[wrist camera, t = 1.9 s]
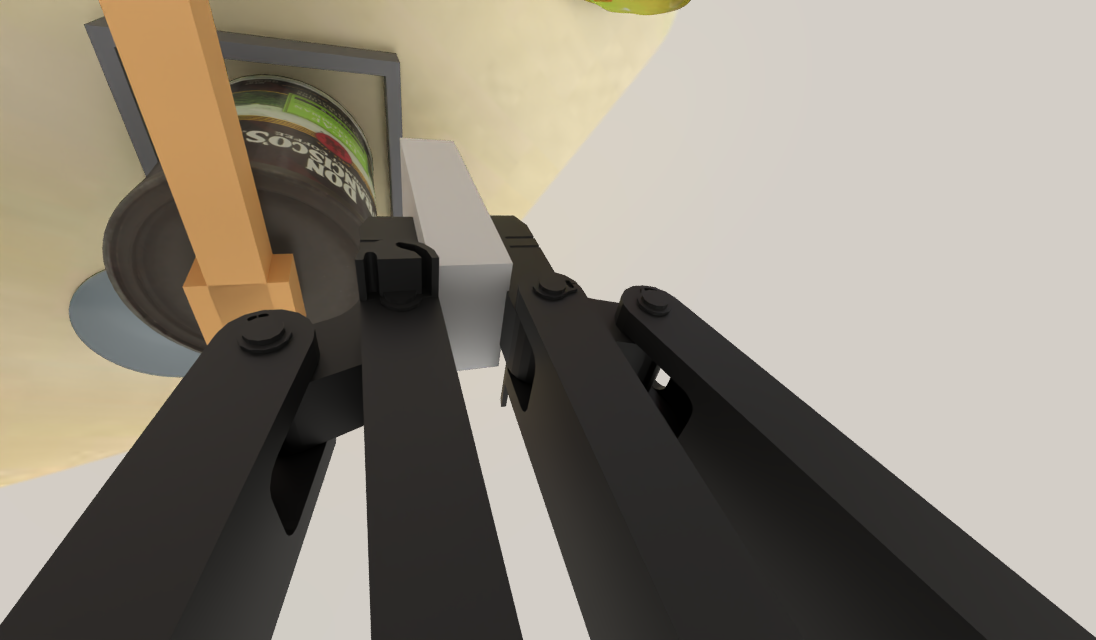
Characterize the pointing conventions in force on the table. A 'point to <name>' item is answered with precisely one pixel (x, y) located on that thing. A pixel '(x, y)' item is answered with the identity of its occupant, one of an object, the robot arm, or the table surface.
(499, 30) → the table surface
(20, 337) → the table surface
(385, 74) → the square picture frame
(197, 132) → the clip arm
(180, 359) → the slate coaster
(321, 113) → the coffee can
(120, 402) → the table surface
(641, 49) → the table surface
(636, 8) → the bottle
